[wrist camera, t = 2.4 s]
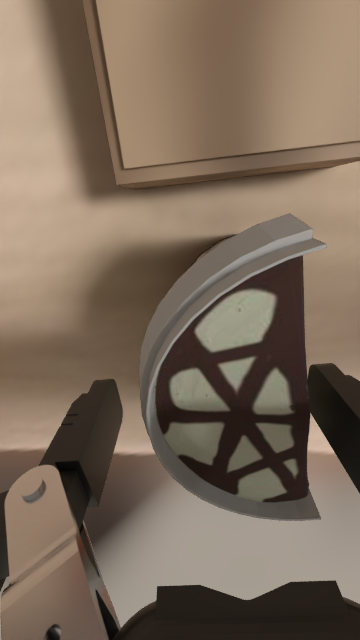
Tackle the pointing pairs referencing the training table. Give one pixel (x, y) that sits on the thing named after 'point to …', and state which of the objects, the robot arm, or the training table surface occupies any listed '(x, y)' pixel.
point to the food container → (235, 374)
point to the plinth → (226, 86)
